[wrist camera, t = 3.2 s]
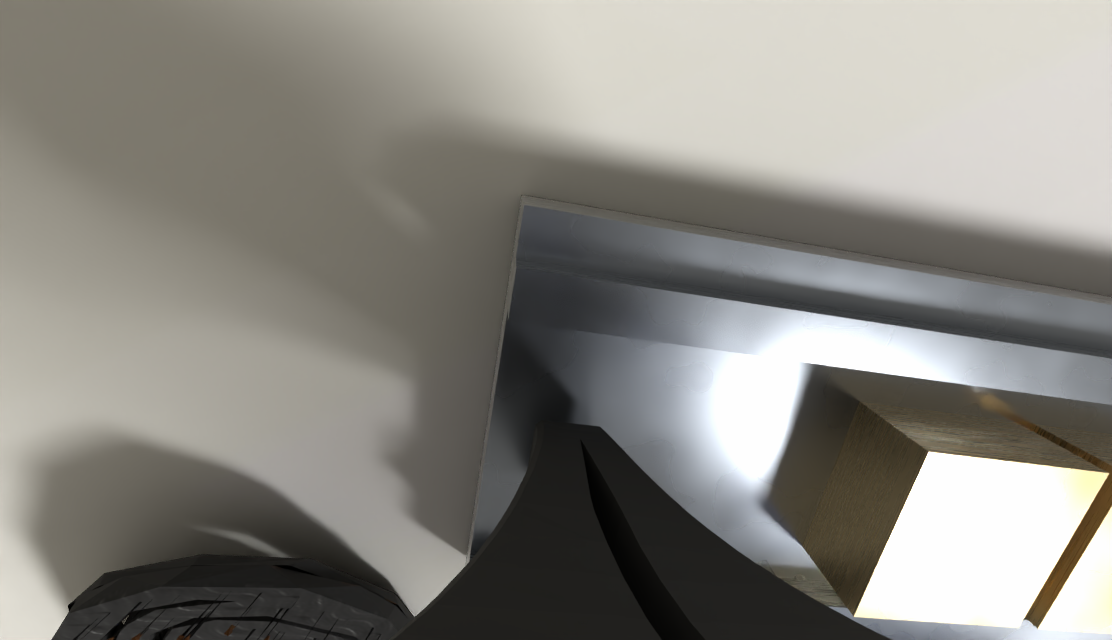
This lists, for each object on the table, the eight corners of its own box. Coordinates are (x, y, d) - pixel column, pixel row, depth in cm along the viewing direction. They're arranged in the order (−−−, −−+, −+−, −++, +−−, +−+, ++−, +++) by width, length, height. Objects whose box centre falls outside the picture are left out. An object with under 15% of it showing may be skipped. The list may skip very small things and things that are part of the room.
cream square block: (1014, 421, 12) (1109, 473, 10) (945, 558, 13) (1018, 627, 11) (859, 401, 11) (929, 452, 10) (802, 546, 13) (853, 616, 11)
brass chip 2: (1173, 442, 13) (1290, 494, 11) (1093, 571, 14) (1185, 638, 12) (1033, 423, 12) (1131, 475, 10) (962, 560, 13) (1037, 628, 11)
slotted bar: (1204, 312, 14) (1367, 352, 11) (1034, 600, 17) (1131, 684, 14) (521, 194, 11) (525, 210, 9) (466, 557, 14) (456, 650, 12)
